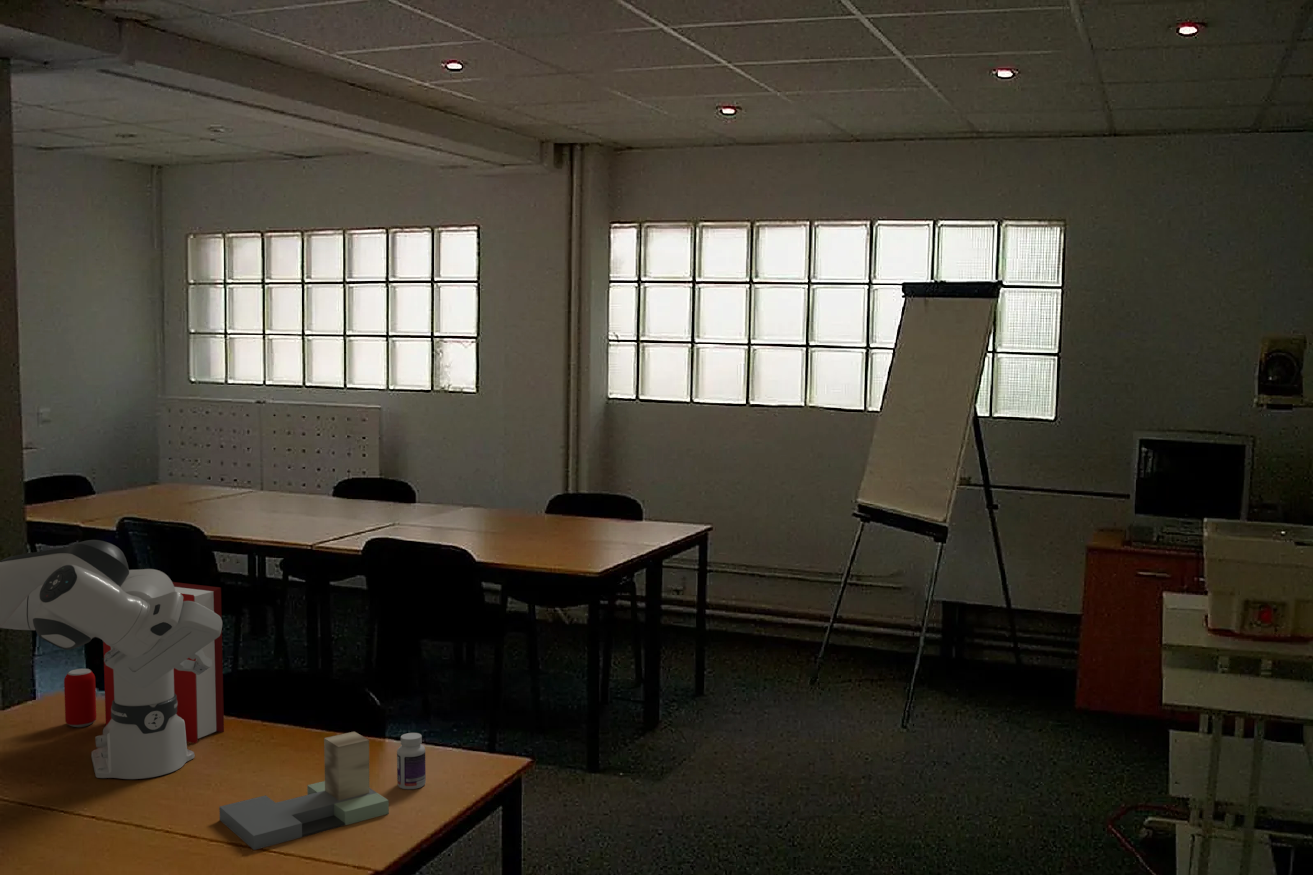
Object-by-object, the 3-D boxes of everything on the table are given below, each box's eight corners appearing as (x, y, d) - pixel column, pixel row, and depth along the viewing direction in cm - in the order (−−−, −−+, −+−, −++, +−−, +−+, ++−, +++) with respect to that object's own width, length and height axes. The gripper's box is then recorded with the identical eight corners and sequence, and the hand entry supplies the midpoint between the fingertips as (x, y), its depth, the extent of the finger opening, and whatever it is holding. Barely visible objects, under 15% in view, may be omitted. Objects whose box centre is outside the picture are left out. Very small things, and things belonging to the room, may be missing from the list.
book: (223, 732, 262) (220, 587, 260) (196, 743, 255) (193, 594, 252) (129, 715, 273) (125, 576, 270) (101, 726, 265) (96, 583, 263)
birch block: (324, 790, 223) (324, 738, 222) (354, 783, 227) (354, 731, 226) (339, 800, 218) (338, 746, 217) (369, 792, 222) (368, 740, 221)
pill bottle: (431, 782, 234) (431, 734, 233) (414, 792, 229) (414, 742, 228) (408, 778, 236) (408, 729, 236) (391, 787, 232) (391, 738, 231)
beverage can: (101, 724, 266) (99, 671, 265) (72, 730, 262) (70, 677, 261) (90, 718, 271) (88, 665, 270) (61, 724, 266) (59, 671, 265)
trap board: (219, 820, 215) (219, 806, 215) (349, 787, 231) (349, 775, 231) (254, 850, 203) (253, 835, 203) (388, 813, 219) (388, 800, 219)
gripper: (93, 674, 200) (162, 710, 208) (176, 614, 194) (244, 654, 202) (101, 645, 205) (168, 681, 213) (183, 586, 199) (248, 626, 207)
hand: (206, 668), depth 207 cm, fingers closed
